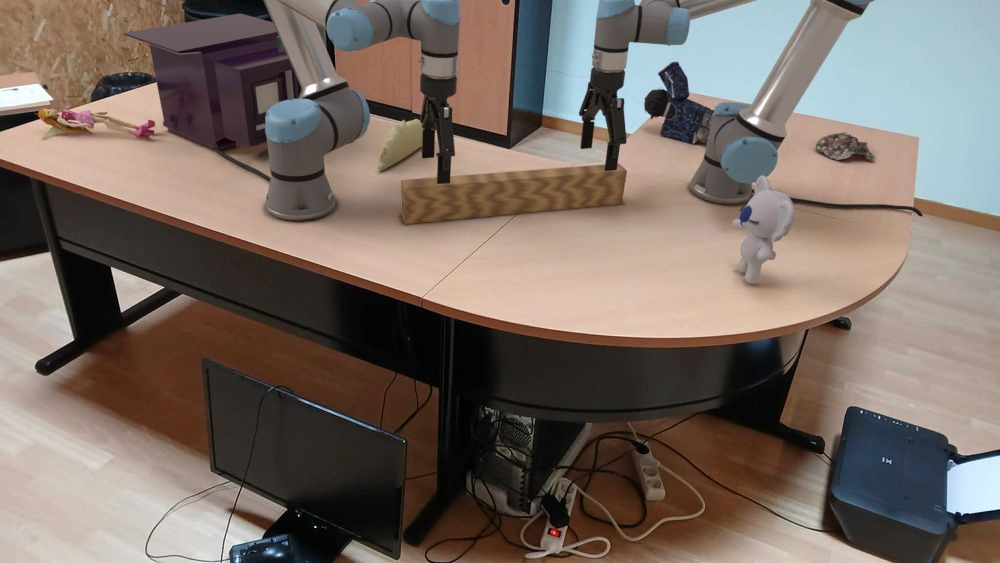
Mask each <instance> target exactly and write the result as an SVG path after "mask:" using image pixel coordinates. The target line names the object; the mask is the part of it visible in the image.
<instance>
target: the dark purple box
mask: <svg viewBox="0 0 1000 563" xmlns="http://www.w3.org/2000/svg"><path fill="white" fill-rule="evenodd" d="M123 36H125V37H127V38H130V39H133V40H136V41H138V42H142V43H145V44H148V45H149V50H150V54H151V60H152V66H153V71H154V75H155V76H154V77H155V82H156V87H157V92H158V97H159V102H160V107H161V113H162V118H163V122H162V126H163V127H165V128H166V129H167V131H168V132H170V133H172V134H175V135H177V136H179V137H182V138H184V139H187V140H189V141H191V142H193V143H196V144H197V145H200V146H203V147H205V148H207V149H209V150H212V151H214V150H213V149H212V148H215V149H218V150H220V151H222V152H223V153H224V152H227V151H229V150H233V149H235V148H237V144H240V145H242V146H245V147H247V148H249V149H250V148H253V147H256V146H259V145H262V144H266V143H267V137H266V133H265V126H266V122H265V117H266V113H267V111H268V110H269V109H270V108H271V107H272V106H273V105H275V104H277V103H279V102H282V101H285V100H293V99H299V95H300V93H301V86H300V84H299V81H298V79H297V77H296V74H295V72H294V70H293V67H292V65H291V63H290V61H289V58H288V56H287V54H286V51H285V49H284V48H282V47H279V44H278V40H277V38H279V35H278V33H277V31H276V28H275V26H274V24H273V22H272V21H269V20H264V19H262V18H259V17H256V16H255V17H254V16H252V15H247V14H244V13H235V14H230V15H224V16H217V17H212V18H205V19H200V20H194V21H188V22H181V23H175V24H169V25H163V26H157V27H151V28H146V29H145V28H144V29H139V30H134V31H128V32H123Z"/></svg>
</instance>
